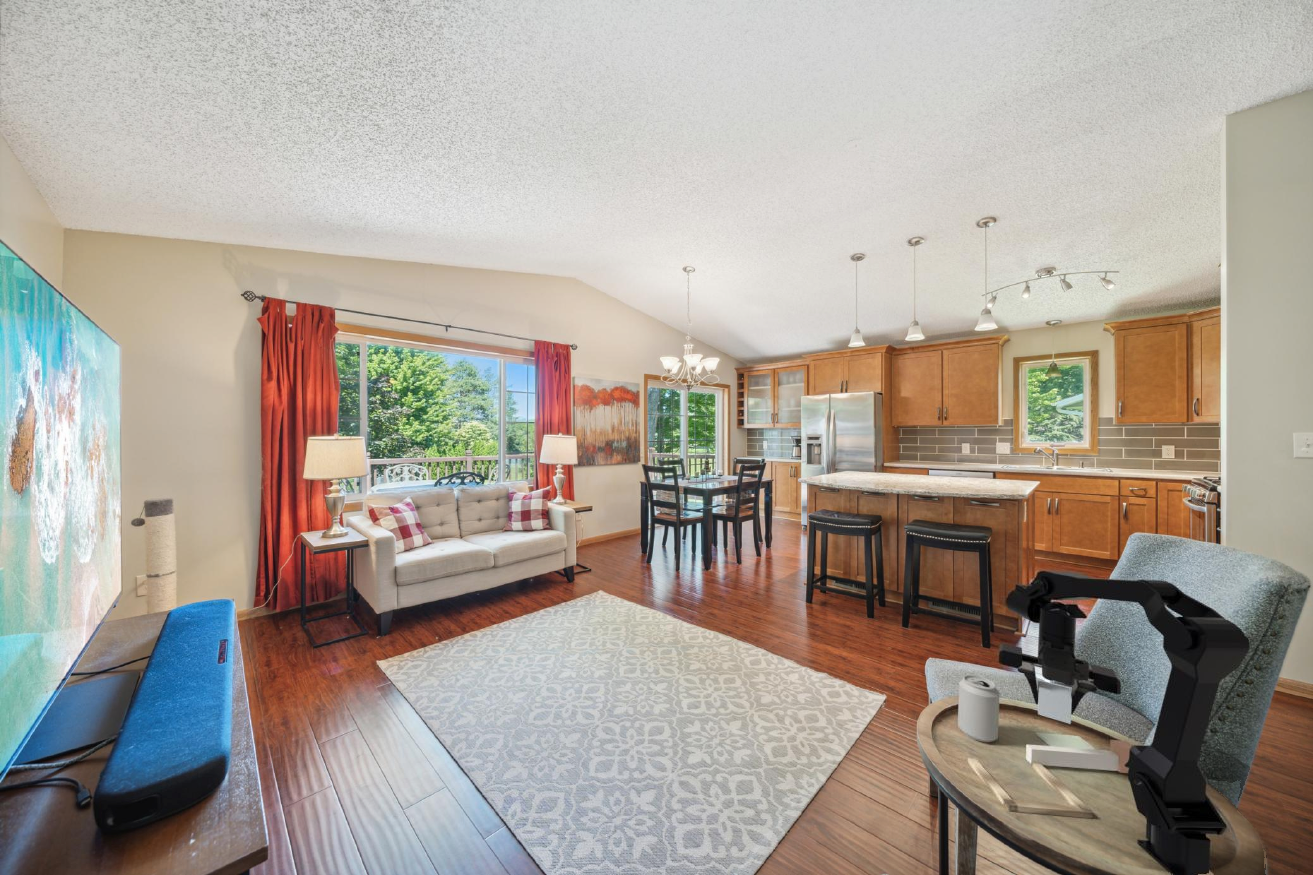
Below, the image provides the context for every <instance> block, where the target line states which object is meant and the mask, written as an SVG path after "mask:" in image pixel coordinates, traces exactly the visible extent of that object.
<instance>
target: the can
mask: <svg viewBox="0 0 1313 875" xmlns="http://www.w3.org/2000/svg"><path fill="white" fill-rule="evenodd" d="M957 712H958V713H957V726H958V728H959V729H960V731H962V732H964V733H963V734H965V736H967V737H968V738H970V739H973V740H975V741H978V742H981V743H991V742H994V741H996V740H998V739H999V738H998V737H999V723H1000V722H999V716H1000V691H999V690H998V689H997V685H996V683H995V682H994V681H992V680H991V679H989V678H986V677H984V676H981V675H976V674H965V675H963V676H962V679H961V680H960V681H959V683H958V710H957Z"/></svg>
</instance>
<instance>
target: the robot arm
mask: <svg viewBox="0 0 1313 875" xmlns="http://www.w3.org/2000/svg"><path fill="white" fill-rule="evenodd" d="M1014 587H1015V589H1013V590H1011V591H1010V592H1009V593H1008V595H1007V597H1006V598H1005V604H1006V607H1007V609H1008V610H1009V612H1012V613H1013V614H1015V615H1017V616H1019V617H1021V618H1024V619H1025V620H1028V621H1029V622H1032V623H1035V624H1038V643H1037V646H1038V647H1037V656H1035V655H1030V654H1028V653H1023V648H1022V647H1019V646H1015V645H1012V644H1011V645H1010V644H1007V643H1001V644H999V648H998V650H999V651H998V664H1000V665H1003V666H1006V667H1011V668H1014V669H1017V672H1018V673H1020V674H1023V675H1024V677H1025V679H1026V680H1027V682H1028V684H1029V687H1030V689H1031V694H1032V697H1033V699H1034V702H1035V705H1037V704H1038V681H1037V675H1036V668H1040V669H1041V675H1042V677H1043V678H1044V679H1045V680H1047V681H1053V682H1054V681H1055V682H1057V683H1062V684H1064V685H1066V686H1071V690H1070V694H1071V698H1072V705H1071V715H1073V714H1074V712H1075V711H1076V709H1077V707H1078V705H1079V704H1080V702H1081V701H1082V699H1083V698H1084V697H1085V696H1086V695H1087V694H1088V693H1090V692H1092V693H1097V692H1098V690H1099V691H1103V692H1107V693H1111V694H1115V695H1121V690H1122V683H1121V679H1120V677H1119V676H1118V673H1117V672H1116V671H1115V670H1114V669H1112V668H1108V667H1104V666H1101V665H1100V666H1099V665H1096V664H1092V663H1089V662H1088V661H1087V660H1084V659H1083V660H1082V659H1079V658H1076V655H1075V654H1076V650H1075V649H1076V630H1077V628H1076V627H1077V619H1079V620H1080V619H1082V620H1083V619H1084V620H1085V619H1087V618H1088V616H1087V615H1086V613H1085V612H1084V611H1083V610H1082V609H1080V607H1079V605H1078V604H1075V603H1063V602H1061V601H1076V602H1077V601H1085V600H1092V599H1097V600H1099V599H1100V600H1109V601H1120V602H1129V603H1137V604H1138V605H1140V606H1141V607H1142V608H1143V610H1144V613H1145V616H1146V618H1147V620H1148V622H1149V624H1150V625H1151V626H1152V627H1153V628H1155V629H1156V630H1157V631H1158V633H1160V634H1161V636H1163V640H1162V645H1163V646H1162V648H1163V650H1164V652H1165V655H1166V657H1167V658H1168V660H1169V662H1170V664H1171V668H1170V673H1169V676H1168V680H1167V684H1166V688H1165V692H1164V696H1163V700H1162V704H1161V707H1160V711H1159V713H1158V715H1159V716H1158V719H1157V723H1156V727H1155V731H1154V733H1153V734H1154V735H1153V738H1152V742H1151V744H1150V745H1139V744H1138V745H1136V744H1135V745H1133V744H1131V745H1132V746H1131V748H1130V752H1129V760H1128V762H1127V763H1126V764H1125V767H1128V768H1129V769H1128V773H1127V778H1128V782H1129V784H1130V788H1131V791H1132V796H1133V799H1134V802H1135V806H1136V810H1137V812H1138V813H1139V814H1141V815H1142V817H1144V819H1145V821H1146V829H1145V830H1146V831H1145V838H1146V839H1137V841H1136V842H1137V845H1138V846H1139V847H1141V849H1142V850H1144V851H1145V852H1146V853H1147V854H1148V855H1149V856H1151V858H1153V859H1154V860H1155V861H1156V862H1157V863H1158V864H1159V865H1160V866H1162V868H1164V869H1165V870H1166V871H1167V872H1168V873H1169V872H1170V873H1171V874H1170V873H1169V874H1170V875H1172V874H1173V875H1198V874H1207V873H1209V870H1211V869H1210V868H1211V866H1210V865H1211V862H1210V861H1211V839H1210V837H1207V835H1217V836H1221V835H1223V834H1224V832H1225V831H1226V830H1227V826H1228V825H1227V824H1226V822H1225V821H1224V819H1223V818H1222V817H1221V815H1220V813H1219V812H1218V810H1217V809H1216V807H1215V805H1214V804H1213V803H1212V802H1211V800H1210V798H1209V797H1208V796H1207V780H1206V778H1205V775H1204V774H1203V773H1204V772H1202V769H1201V767H1200V766H1199V762H1198V761H1199V758H1200V754H1201V750H1202V747H1203V744H1204V740H1205V736H1206V733H1207V729H1208V725H1209V722H1210V718H1211V714H1212V711H1213V707H1214V704H1215V700H1216V697H1217V693H1218V689H1219V685H1220V683H1221V682H1222V680H1224V679H1225V678H1226V677H1228V676H1229V675H1230V674H1231V673H1233V672H1235V671H1236V670H1237V669H1239V668H1240V666H1241V664H1242V663H1243V661H1244V660H1245V658H1246V656H1247V654H1248V653H1249V651H1250V646H1251V645H1250V644H1251V643H1250V640H1249V637H1248V636H1246V634H1245V633H1244V632H1243V630H1242V629H1241V628H1240V627H1239V626H1238V625H1237V624H1235V622H1232V621H1230V620H1228V619H1226V618H1225V617H1224V616H1222V615H1221V614H1220V613H1219V612H1217V611H1216V610H1215V609H1214V608H1212V607H1210V606H1209V605H1206V604H1204V603H1203V602H1201V601H1199V600H1197V599H1195V598H1193V597H1191V596H1189V595H1188V594H1186V593H1185V592H1183V591H1182V590H1181V589H1180V588H1178V587H1177V586H1176V585H1175V584H1173V583H1171V582H1168V581H1167V580H1162V579H1161V580H1160V579H1138V580H1134V579H1132V580H1131V579H1118V578H1117V579H1114V578H1113V579H1111V578H1096V577H1091V576H1088V575H1086V574H1083V573H1078V572H1074V571H1070V570H1067V571H1066V570H1039V571H1037V572H1036V575H1035V578H1033V580H1032V581H1031V582H1029V584H1028V585H1026V584H1019V583H1017V584H1015V586H1014ZM1167 608H1168V609H1169V610H1168V609H1167ZM1170 610H1171V611H1172V612H1174V613H1176V614H1178V615H1179V616H1175V615H1174V614H1173V613H1172V612H1171V611H1170Z"/></svg>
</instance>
